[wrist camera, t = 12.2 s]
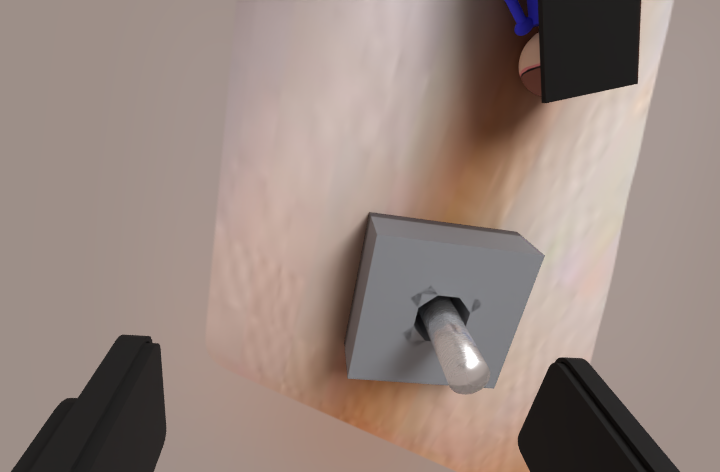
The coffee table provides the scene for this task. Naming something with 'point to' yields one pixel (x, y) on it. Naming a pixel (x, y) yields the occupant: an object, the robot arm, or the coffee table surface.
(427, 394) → the coffee table surface
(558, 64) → the figurine character
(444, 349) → the aluminium pin
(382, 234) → the bore block
